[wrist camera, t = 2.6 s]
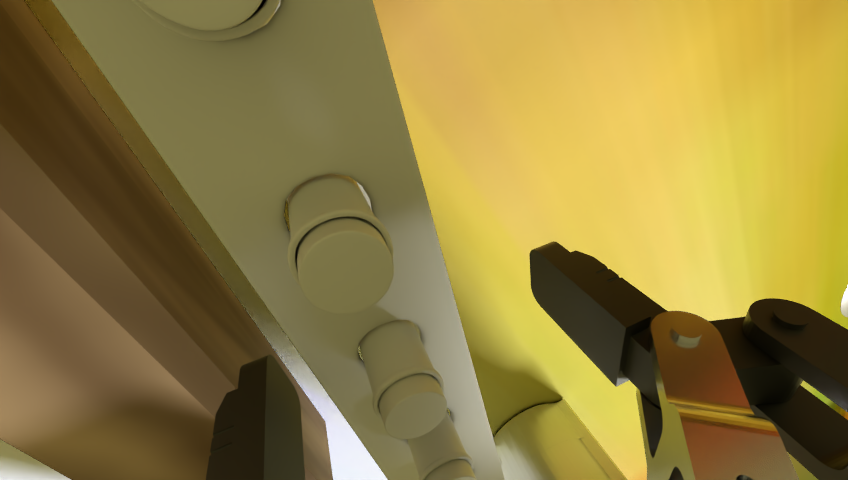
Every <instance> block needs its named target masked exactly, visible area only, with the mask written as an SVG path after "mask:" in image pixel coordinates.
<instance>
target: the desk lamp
mask: <svg viewBox="0 0 848 480" xmlns="http://www.w3.org/2000/svg"><path fill="white" fill-rule="evenodd" d="M841 312H842V314H843V315H844V316H845V317H848V286H847V288H846V291H845V293H844V295H843V298H842V302H841Z"/></svg>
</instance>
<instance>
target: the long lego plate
mask: <svg viewBox="0 0 848 480" xmlns="http://www.w3.org/2000/svg"><path fill="white" fill-rule="evenodd" d="M52 2H53V3H54V5H55V6H56V8H57V9H58V10H59V12H60V13H61V15H62V16H63V17H64V19H65V20H66V22H67V23H68V25H69V26H70V27H71V29H72V30H73V32H74V33H75V35H76V36H77V37H78V39H79V40H80V42H81V43H82V45H83V46H84V47H85V49H86V50H87V52H88V53H89V54H90V56H91V57H92V59H93V60H94V62H95V63H96V64H97V66H98V67H99V69H100V70H101V72H102V73H103V74H104V76H105V77H106V79H107V80H108V82H109V83H110V84H111V86H112V87H113V89H114V90H115V91H116V93H117V94H118V96H119V97H120V99H121V100H122V101H123V103H124V104H125V106H126V107H127V109H128V110H129V111H130V113H131V114H132V116H133V117H134V119H135V120H136V121H137V123H138V124H139V126H140V127H141V129H142V130H143V131H144V133H145V134H146V136H147V137H148V138H149V140H150V141H151V143H152V144H153V146H154V147H155V148H156V150H157V151H158V153H159V154H160V156H161V157H162V158H163V160H164V161H165V163H166V164H167V166H168V167H169V168H170V170H171V171H172V173H173V174H174V175H175V177H176V178H177V180H178V181H179V183H180V184H181V185H182V187H183V188H184V190H185V191H186V193H187V194H188V195H189V197H190V198H191V200H192V201H193V203H194V204H195V205H196V207H197V208H198V210H199V211H200V213H201V214H202V215H203V217H204V218H205V220H206V221H207V222H208V224H209V225H210V227H211V228H212V230H213V231H214V232H215V234H216V235H217V237H218V238H219V240H220V241H221V242H222V244H223V245H224V247H225V248H226V250H227V251H228V252H229V254H230V255H231V257H232V258H233V260H234V261H235V262H236V264H237V265H238V267H239V268H240V269H241V271H242V272H243V274H244V275H245V277H246V278H247V279H248V281H249V282H250V284H251V285H252V287H253V288H254V289H255V291H256V292H257V294H258V295H259V297H260V298H261V299H262V301H263V302H264V304H265V305H266V307H267V308H268V309H269V311H270V312H271V314H272V315H273V317H274V318H275V319H276V321H277V322H278V324H279V325H280V326H281V328H282V329H283V331H284V332H285V334H286V335H287V336H288V338H289V339H290V341H291V342H292V344H293V345H294V346H295V348H296V349H297V351H298V352H299V354H300V355H301V356H302V358H303V359H304V361H305V362H306V364H307V365H308V366H309V368H310V369H311V371H312V372H313V373H314V375H315V376H316V378H317V379H318V381H319V382H320V383H321V385H322V386H323V388H324V389H325V391H326V392H327V393H328V395H329V396H330V398H331V399H332V401H333V402H334V403H335V405H336V406H337V408H338V409H339V411H340V412H341V413H342V415H343V416H344V418H345V419H346V421H347V422H348V423H349V425H350V426H351V428H352V429H353V430H354V432H355V433H356V435H357V436H358V438H359V439H360V440H361V442H362V443H363V445H364V446H365V448H366V449H367V450H368V452H369V453H370V455H371V456H372V458H373V459H374V460H375V462H376V463H377V465H378V466H379V468H380V469H381V470H382V472H383V473H384V475H385V476H386V478H387V479H388V480H505V479H504V475H503V472H502V468H501V464H500V461H499V457H498V454H497V450H496V446H495V443H494V439H493V435H492V432H491V428H490V425H489V421H488V417H487V414H486V410H485V407H484V403H483V399H482V396H481V392H480V388H479V385H478V381H477V378H476V374H475V370H474V367H473V363H472V359H471V356H470V352H469V349H468V345H467V341H466V338H465V334H464V330H463V327H462V323H461V320H460V316H459V312H458V309H457V305H456V302H455V298H454V294H453V291H452V287H451V283H450V280H449V276H448V273H447V269H446V265H445V262H444V258H443V254H442V251H441V247H440V244H439V240H438V236H437V233H436V229H435V225H434V222H433V218H432V215H431V211H430V207H429V204H428V200H427V197H426V193H425V189H424V186H423V182H422V178H421V175H420V171H419V168H418V164H417V160H416V157H415V153H414V149H413V146H412V142H411V139H410V135H409V131H408V128H407V124H406V120H405V117H404V113H403V110H402V106H401V102H400V99H399V95H398V91H397V88H396V84H395V81H394V77H393V73H392V70H391V66H390V62H389V59H388V55H387V52H386V48H385V44H384V41H383V37H382V33H381V30H380V26H379V23H378V19H377V15H376V12H375V8H374V4H373V1H372V0H52ZM286 201H287V203H288V213H289V225H290V231H289V229H288V226H287V223H286V220H285V217H284V212H285V204H286ZM359 346H360V349H361V353H362V357H363V360H364V361H363V360H362V359H361V358H360V356H359V352H358V347H359ZM447 408H448V409H449V410H450V415H449V413H448V411H447Z"/></svg>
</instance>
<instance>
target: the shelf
mask: <svg viewBox="0 0 848 480" xmlns="http://www.w3.org/2000/svg"><path fill="white" fill-rule="evenodd" d="M269 354H271V355H273V356H274V358H275V359H276V360H277V362H278V363H279V365H280V366H281V368H282V369H283V371H284V372H285V373H286V375H287V376H288V378H289V379H290V381H291V382H292V384H293V385H294V387H295V389H296V391H297V394H298V397H299V401H300V407H301V421H302V436H303V452H304V467H305V480H333V477H332V469H331V462H330V454H329V447H328V439H327V431H326V424H325V421H324V419H323V418H322V417H321V415H320V414H319V412H318V411H317V410H316V408H315V407H314V405H313V404H312V403H311V401H310V400H309V398H308V397H307V396H306V394H305V393H304V391H303V390H302V389H301V387H300V386H299V384H298V383H297V382H296V380H295V379H294V377H293V376H292V375H291V373H290V372H289V370H288V369H287V368H286V366H285V365H284V363H283V362H282V361H281V359H280V358H279V356H278V355H277V354H276V352H275V351H274V349H273V348H272V347H271V345H270V344H269V342H268V341H267V340H266V338H265V337H264V335H263V334H262V333H261V331H260V330H259V328H258V327H257V326H256V324H255V323H254V321H253V320H252V319H251V317H250V316H249V314H248V313H247V312H246V310H245V309H244V307H243V306H242V305H241V303H240V302H239V300H238V299H237V298H236V296H235V295H234V293H233V292H232V291H231V289H230V288H229V286H228V285H227V284H226V282H225V281H224V279H223V278H222V277H221V275H220V274H219V273H218V271H217V270H216V268H215V267H214V266H213V264H212V263H211V261H210V260H209V259H208V257H207V256H206V254H205V253H204V252H203V250H202V249H201V247H200V246H199V245H198V243H197V242H196V240H195V239H194V238H193V236H192V235H191V233H190V232H189V231H188V229H187V228H186V226H185V225H184V224H183V222H182V221H181V219H180V218H179V217H178V215H177V214H176V212H175V211H174V210H173V208H172V207H171V205H170V204H169V203H168V201H167V200H166V198H165V197H164V196H163V194H162V193H161V191H160V190H159V189H158V187H157V186H156V184H155V183H154V182H153V180H152V179H151V177H150V176H149V175H148V173H147V172H146V170H145V169H144V168H143V166H142V165H141V163H140V162H139V161H138V159H137V158H136V156H135V155H134V154H133V152H132V151H131V149H130V148H129V147H128V145H127V144H126V142H125V141H124V140H123V138H122V137H121V135H120V134H119V133H118V131H117V130H116V128H115V127H114V126H113V124H112V123H111V121H110V120H109V119H108V117H107V116H106V114H105V113H104V112H103V110H102V109H101V107H100V106H99V105H98V103H97V102H96V100H95V99H94V98H93V96H92V95H91V93H90V92H89V91H88V89H87V88H86V86H85V85H84V84H83V82H82V81H81V79H80V78H79V77H78V75H77V74H76V73H75V71H74V70H73V68H72V67H71V66H70V64H69V63H68V61H67V60H66V59H65V57H64V56H63V54H62V53H61V52H60V50H59V49H58V47H57V46H56V45H55V43H54V42H53V40H52V39H51V38H50V36H49V35H48V33H47V32H46V31H45V29H44V28H43V26H42V25H41V24H40V22H39V21H38V19H37V18H36V17H35V15H34V14H33V12H32V11H31V10H30V8H29V7H28V5H27V4H26V3H25V1H24V0H0V439H1V440H3V441H5V442H6V443H8V444H10V445H12V446H13V447H15V448H17V449H19V450H20V451H22V452H24V453H26V454H27V455H29V456H31V457H33V458H34V459H36V460H38V461H40V462H41V463H43V464H45V465H47V466H49V467H50V468H52V469H54V470H56V471H57V472H59V473H61V474H63V475H64V476H66V477H68V478H70V479H71V480H206V474H207V468H208V461H209V456H210V455H211V452H210V448H211V442H212V438H213V437H214V436H213V429H214V422H215V416H216V413H217V411H218V409H219V407H220V405H221V403H222V401H223V399H224V397H225V395H226V393H228V392H230V391H233V390H235V389H238V381H239V372H240V368H241V366H242V365H244V364H247V363H249V362H252V361H254V360H257V359H259V358H262V357H264V356H267V355H269Z"/></svg>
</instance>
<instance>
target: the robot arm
mask: <svg viewBox="0 0 848 480" xmlns="http://www.w3.org/2000/svg"><path fill="white" fill-rule="evenodd" d="M530 274H531V289H532V292H533V295H534V297H535V299H536V301H537V302H538V304H539V305H540V306H541V307H542V308H543V309H544V310H545V311H546V313H547V314H548V315H549V316H550V317H551V318H552V319H553V320H554V321H555V322H556V323H557V324H558V325H559V326H560V327H561V329H562V330H563V331H564V332H565V333H566V334H567V335H568V336H569V337H570V338H571V339H572V340H573V341H574V342H575V343H576V345H577V346H578V347H579V348H580V349H581V350H582V351H583V352H584V353H585V354H586V355H587V356H588V357H589V358H590V359H591V361H592V362H593V363H594V364H595V365H596V366H597V367H598V368H599V369H600V370H601V371H602V372H603V373H604V374H605V375H606V377H607V378H608V379H609V380H610V381H611V382H612V383H613V384H614V385H615V386H618V385H620V384H622V383H624V382H626V381H628V380H630V381H631V382H632V383H633V384H634V385H635V386H636V387H637V389H636V396H637V403H638V409H639V416H640V422H641V429H642V435H643V441H644V448H645V454H646V461H647V480H799V478H798V476H797V474H796V471H795V469H794V467H793V464H792V462H791V460H790V457H789V455H788V453H789V454H791V455H792V456H793V457H794V458H795V459H796V460H797V461H799V463H801V464H802V465H803V466H804V467H805V468H806V469H807V470H808V471H809V472H811V473H812V474H813V475H814V476H815V477H816V478H817V479H819V480H848V420H847V419H845V418H844V417H843V416H841V415H840V414H839V413H837V412H836V411H835V410H833V409H832V408H830V407H829V406H828V405H826V404H825V403H824V402H822V401H821V400H820V399H818V398H817V397H816V396H814V395H813V394H812V393H810V392H809V391H807V390H806V389H805V388H803V387H802V386H801V385H800V384H801V383H802V381H803V380H804V381H805V382H807V383H808V384H809V385H811V386H812V387H814V388H815V389H816V390H818V391H819V392H820V393H822V394H823V395H825V396H826V397H827V398H829V399H830V400H832V401H833V402H834V403H836V404H837V405H838V406H840V407H841V408H843V409H844V410H845V411H847V412H848V330H847V329H846V328H844V327H842V326H840V325H839V324H837V323H835V322H833V321H832V320H830V319H828V318H827V317H825V316H823V315H821V314H820V313H818V312H816V311H814V310H812V309H811V308H809V307H806V306H804V305H802V304H799V303H796V302H793V301H788V300H783V299H762V300H759V301H756V302H754V303H753V304H752V305H751V306H750V308H749V310H748V312H747V315H746V317H740V318H732V319H724V320H716V321H707V320H705V319H704V318H702V317H700V316H697V315H695V314H692V313H688V312H682V311H667V310H665V309H664V308H662V307H661V306H660V305H658V304H657V303H655V302H654V301H653V300H651V299H650V298H649V297H647V296H646V295H645V294H643V293H642V292H640V291H639V290H638V289H636V288H635V287H634V286H632V285H631V284H630V283H628V282H627V281H626V280H624V279H623V278H619V276H618V275H617V274H616V273H615V272H613V271H612V270H611V269H608V268H607V267H606V266H605V265H604V264H602V263H601V262H600V261H598V260H597V259H596V258H594V257H592V256H590V255H587V254H584V253H581V252H578V251H573V252H571V253H570V252H569V251H568V250H566V249H565V248H564V247H563V246H561V245H560V244H559V243H557V242H551V243H548V244H546V245H543V246H541V247H538V248H536V249H533V250H531V252H530ZM213 436H214V437H213V438H212V442H211V448H210V452H211V455H210V456H209V461H208V468H207V474H206V480H305V467H304V452H303V436H302V421H301V407H300V401H299V397H298V394H297V391H296V389H295V387H294V385H293V384H292V382H291V381H290V379H289V378H288V376H287V375H286V373H285V372H284V371H283V369H282V368H281V366H280V365H279V363H278V362H277V360H276V359H275V358H274V356H273V355H271V354H269V355H267V356H264V357H262V358H259V359H257V360H254V361H252V362H249V363H247V364H244V365H242V366H241V368H240V372H239V381H238V389H235V390H233V391H230V392H228V393H226V395H225V397H224V399H223V401H222V403H221V405H220V407H219V409H218V411H217V413H216V416H215V422H214V429H213ZM493 439H494V443H495V446H496V450H497V454H498V457H499V461H500V464H501V468H502V472H503V475H504V479H505V480H627V478H626V477H625V476H624V475H623V473H622V472H621V471H620V470H619V468H618V467H617V466H616V464H615V463H614V462H613V461H612V459H611V458H610V457H609V456H608V454H607V453H606V452H605V450H604V449H603V448H602V447H601V445H600V444H599V443H598V442H597V440H596V439H595V438H594V436H593V435H592V434H591V433H590V431H589V430H588V429H587V428H586V426H585V425H584V424H583V422H582V421H581V420H580V419H579V417H578V416H577V415H576V414H575V412H574V411H573V410H572V408H571V407H570V406H569V405H568V403H567V402H566V401H565V400H561V401H559V402H557V403H553V404H542V405H538V406H535V407H532V408H530V409H528V410H526V411H524V412H522V413H520V414H519V415H517V416H515V417H514V418H512V419H511V420H510V421H509V422H508V423H506V424H505V425H504V426H503V427H502V428H501V429H500V430H499V431H498V433H497V434H496V435H495V437H494V438H493ZM787 452H788V453H787Z"/></svg>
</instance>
